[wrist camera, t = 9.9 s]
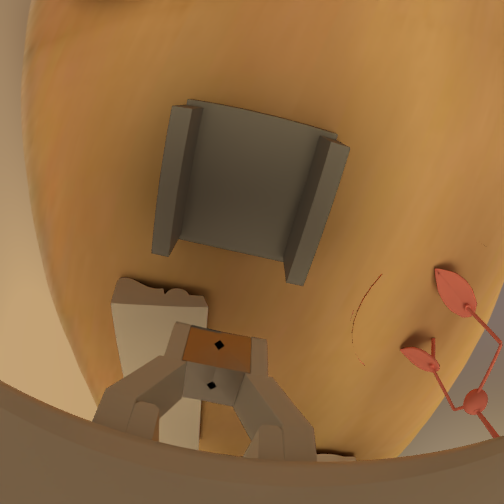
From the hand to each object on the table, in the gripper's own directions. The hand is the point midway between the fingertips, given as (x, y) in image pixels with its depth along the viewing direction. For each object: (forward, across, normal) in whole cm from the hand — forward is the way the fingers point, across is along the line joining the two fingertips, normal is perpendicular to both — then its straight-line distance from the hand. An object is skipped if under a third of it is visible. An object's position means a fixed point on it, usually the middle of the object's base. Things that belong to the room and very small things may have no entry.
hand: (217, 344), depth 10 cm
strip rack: (+20, 0, 0) cm, 20 cm away
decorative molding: (+20, 0, +30) cm, 36 cm away
